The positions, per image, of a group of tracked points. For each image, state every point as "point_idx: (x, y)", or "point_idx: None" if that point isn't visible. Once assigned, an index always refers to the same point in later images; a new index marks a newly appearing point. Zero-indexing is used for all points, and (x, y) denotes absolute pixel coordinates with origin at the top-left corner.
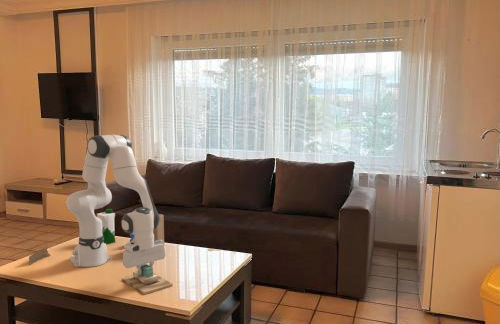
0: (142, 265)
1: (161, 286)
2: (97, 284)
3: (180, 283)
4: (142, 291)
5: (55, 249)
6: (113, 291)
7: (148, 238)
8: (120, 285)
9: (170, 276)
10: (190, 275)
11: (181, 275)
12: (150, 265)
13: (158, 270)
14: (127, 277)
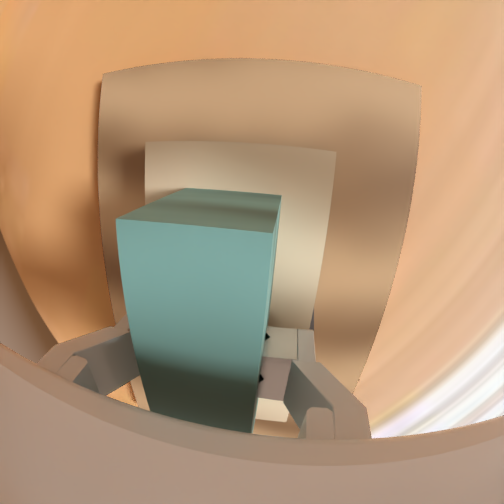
0: (167, 360)
1: (255, 433)
2: (9, 79)
3: (378, 432)
4: (135, 397)
5: None
6: (26, 243)
7: None
8: (67, 184)
9: (448, 327)
10: (490, 382)
11: (481, 357)
12: (299, 406)
13: (490, 139)
14: (139, 96)
